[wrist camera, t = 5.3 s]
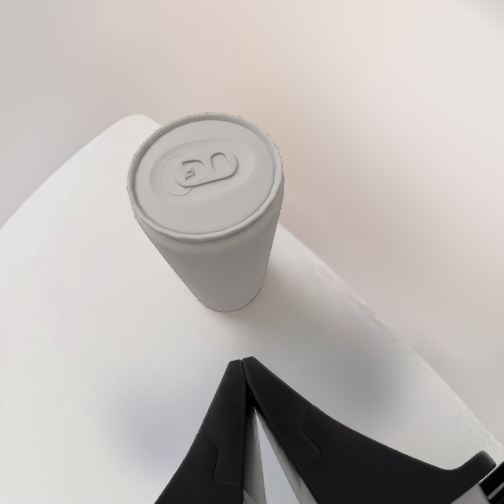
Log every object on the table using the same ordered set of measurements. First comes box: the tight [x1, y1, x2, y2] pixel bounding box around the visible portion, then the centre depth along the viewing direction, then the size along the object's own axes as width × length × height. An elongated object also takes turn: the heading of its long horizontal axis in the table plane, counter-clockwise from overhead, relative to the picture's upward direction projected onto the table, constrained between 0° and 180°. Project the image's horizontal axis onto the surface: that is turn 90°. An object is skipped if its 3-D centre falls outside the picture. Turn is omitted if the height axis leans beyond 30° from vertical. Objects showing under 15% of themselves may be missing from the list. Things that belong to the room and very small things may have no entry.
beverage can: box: [127, 112, 284, 312], centre depth 13 cm, size 5×5×12 cm
